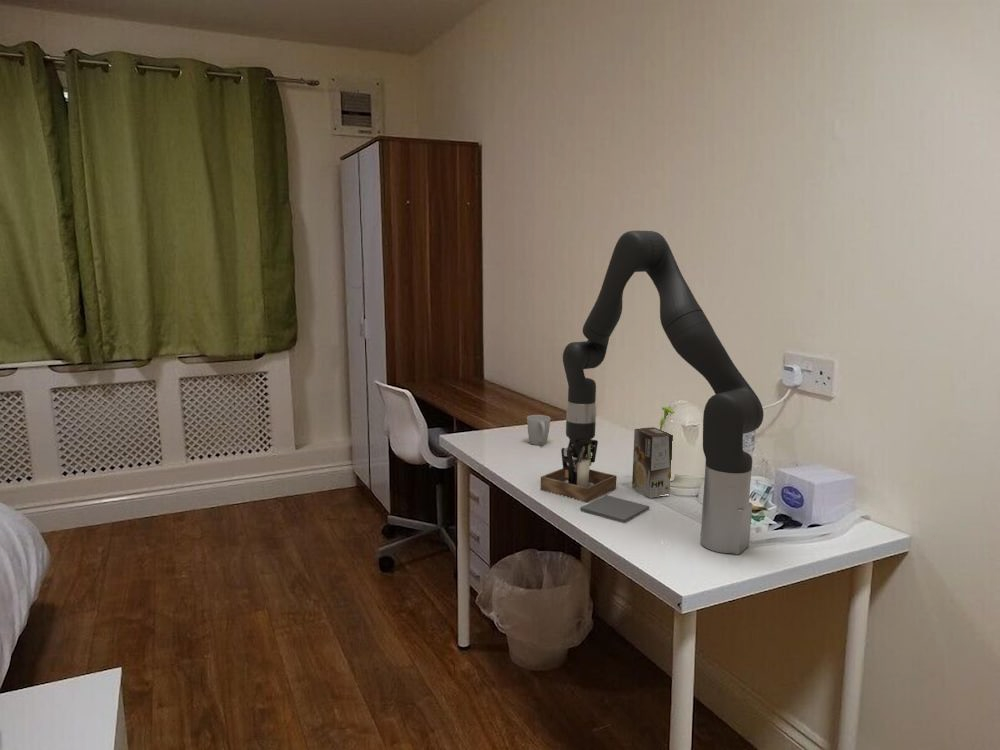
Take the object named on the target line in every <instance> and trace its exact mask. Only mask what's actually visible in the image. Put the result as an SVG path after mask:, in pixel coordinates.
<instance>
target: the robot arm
mask: <svg viewBox="0 0 1000 750" xmlns="http://www.w3.org/2000/svg"><path fill="white" fill-rule="evenodd" d="M640 272H642V273H643V272H645V273H646V274H647V275H648V276H649V278H650V279H651V281H652V283H653V285H654V286H655V288H656V290H657V293H658V296H659V319H660V324H661V327H662V329H663V331H664V333H665V335H666V337H667V338H668V341H669V342H670V344H671V346H672V347H673V350H675V352H676V353H677V355H679V356H680V357H681V359H683V360H684V361H685V362H686V363H687V364H688V365H689V366H691V367H692V368H693V369H694V370H696V371H697V372H698V373H699V374H700V375H701V376H702V377H703V378H704V379H705V380H706V381H707V382H708V384H709V385H710V387H711V389H712V390H713V392H714V395H712V396H711V397H710V398H709V399H708V400H707V402H706V404H705V406H704V411H703V417H702V418H703V419H702V451H703V455H704V457H705V466H704V467H705V468H704V483H703V493H702V495H703V496H702V497H703V498H702V508H701V509H702V511H701V512H702V513H701V522H700V523H701V526H700V539H699V540H700V541H699V542H700V544H701V546H702V547H704V548H706V549H707V550H711V551H713V552H717V553H723V554H733V555H740V554H742V552H743V551H745V550H746V549H748V547H750V538H751V524H752V513H753V512H752V511H753V504H752V503H751V502H750V496H751V495H750V494H751V483H752V471H753V470H752V467H753V457H752V455H751V454H750V453H748V452H746V451H744V447H743V444H744V442H743V441H744V435H745V434H749V433H751V432H752V433H753V432H754V431H756V430H757V429H758V428H760V427H761V425H762V423H763V421H764V409H763V405H762V403H761V401H760V399H759V396H758V395H757V394H756V392H755V390H754V389H753V388H752V387H751V385H750V384H749V383H748V381H747V380H746V379H745V378H744V376H743V374H742V373H741V372H740V371H739V370H738V368H737V366H736V365H735V364H734V362H733V360H732V358H731V357H730V355H729V354H728V351H727V350H726V348H725V347H724V345H723V344H722V342H721V340H720V338H719V337H718V336H717V334H716V332H715V329H714V328H713V326H712V323H710V321H709V319H708V317H707V316H706V313H705V312H704V311H703V309H702V307H701V306H700V305H699V302H698V301H697V299H696V297H695V296H694V294H693V292H692V290H691V289H690V287H689V285H688V283H687V282H686V279H685V278H684V276H683V274H682V272H681V270H680V267H679V265H678V263H677V261H676V259H675V257H674V254H673V252H672V249H671V247H670V245H669V243H668V241H667V240H666V239H665V237H664V236H663V235H662V234H661V233H659V232H657V231H655V230H630V231H626V232H624V233H623V234H622V235H621V236H620V237H619V238H618V240H617V242H616V243H615V246H614V248H613V251H612V253H611V258H610V260H609V264H608V267H607V269H606V273H605V275H604V278H603V282H602V285H601V288H600V291H599V293H598V296H597V298H596V301H595V303H594V305H593V307H592V309H591V310H590V312H589V314H588V316H587V318H586V319H585V322H584V324H583V326H582V333H583V334H582V335H583V336H584V337H585V339H587V340H585V341H573V342H569V343H568V344H566V346H565V348H564V350H563V352H562V364H563V368H564V371H565V372H564V373H565V375H566V376H565V377H566V382H567V385H568V390H567V405H566V414H565V416H566V420H565V421H566V422H565V435H566V438H568V439H569V441H568V446H567V447H566V448H565V447H562V448H561V450H560V451H561V461H562V468H563V469H565V470H568V480H567V483H570V484H574V485H577V469H578V464H579V463H581V459H582V458H586V459H589V460H590V462H589V468H590V467H591V466H592V463H593V464H594V463H595V462H596V457H597V451H598V443H599V440H596V439H594V438H595V437H596V425H597V424H596V420H597V406H596V401H597V400H596V398H597V397H596V396H597V384H596V381H595V380H594V379H592V378H589V377H586V376H585V371H584V370H589V369H590V370H591V369H595V368H598V367H599V366H600V365H601V364H602V363H603V362H604V360H605V358H606V354H607V349H608V345H609V341H610V340H609V339H610V337H611V335H612V333H613V332H614V330H615V329H616V327H617V325H618V323H619V321H620V319H621V316H622V312H623V297H624V296H623V295H624V292H625V291H624V290H625V287H626V286H627V284H628V282H629V280H630V279H631V278H632V276H633V275H634V274H635V273H640ZM572 457H574V458H577V459H573V458H572ZM573 462H575V464H574V467H573ZM567 463H568V465H567Z"/></svg>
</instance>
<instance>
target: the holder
mask: <svg viewBox="0 0 1000 750" xmlns="http://www.w3.org/2000/svg"><path fill="white" fill-rule="evenodd" d="M563 481H564V482H563ZM565 481H568V478H566V477H565V469H563V467H562V468H560V469H557V470H555V471H552V472H550V473H548V474H545V475H542V476H540V485H539V487H540V491H543V490H544V491H543V492H547V491H548V492H547V493H550V492H552V493H551V494H554V493H555V495H558V494H559V496H561V495H563V496H562V497H565V496H567V497H566V498H569V497H570V499H572V498H574V499H573V500H576V499H577V500H576V501H580V500H581V501H580V502H583V501H584V502H583V503H588V502H589V503H590V502H592V501H594V500H596V499H598V498H600V497H602V496H605V494H606V495H607V494H608V493H610V492H612V491H614V490H616V489H617V475H615V474H611V473H606V472H604V471H603V472H601V471H599V470H594V469H590V468H589V484H592V485H590V486H589V487H587V488H585V487H582V486H578V485H574V484H570V483H568V482H565Z"/></svg>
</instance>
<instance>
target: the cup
mask: <svg viewBox="0 0 1000 750" xmlns="http://www.w3.org/2000/svg"><path fill="white" fill-rule="evenodd" d="M526 423H527V424H526V425H527V434H528V442H529V444H530V445H532V444H534V445H533V446H544V445H543V444H545V445H547V443H548V438H549V433H550V425H551V416H548V415H544V414H532V415H527V416H526Z"/></svg>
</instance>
